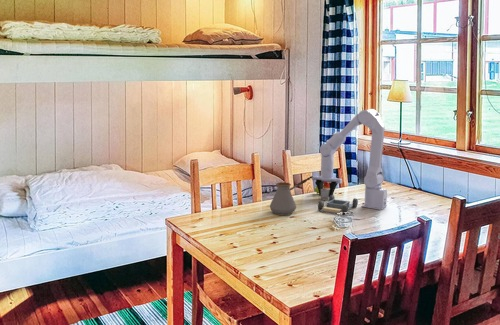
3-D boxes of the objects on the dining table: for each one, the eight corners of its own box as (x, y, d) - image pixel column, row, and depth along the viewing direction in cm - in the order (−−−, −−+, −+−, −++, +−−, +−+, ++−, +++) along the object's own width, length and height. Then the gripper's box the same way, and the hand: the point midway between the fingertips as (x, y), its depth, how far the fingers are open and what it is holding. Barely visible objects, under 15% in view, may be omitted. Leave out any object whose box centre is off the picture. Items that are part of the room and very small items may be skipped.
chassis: (332, 202, 237) (332, 194, 236) (358, 206, 231) (358, 197, 230) (317, 211, 222) (317, 202, 221) (344, 215, 216) (344, 206, 215)
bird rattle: (323, 196, 257) (309, 190, 253) (331, 175, 257) (318, 170, 253) (330, 199, 252) (316, 193, 247) (338, 178, 252) (325, 172, 247)
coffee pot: (278, 218, 212) (278, 183, 209) (264, 211, 222) (265, 177, 219) (320, 211, 221) (321, 178, 219) (305, 205, 231) (306, 173, 229)
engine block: (331, 198, 244) (331, 188, 243) (328, 200, 240) (328, 190, 239) (323, 197, 246) (324, 187, 245) (320, 199, 242) (320, 189, 241)
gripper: (344, 168, 240) (343, 196, 242) (316, 165, 247) (315, 192, 250) (339, 171, 234) (338, 199, 236) (310, 167, 241) (309, 195, 244)
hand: (326, 196), depth 243 cm, fingers open, 5 cm apart
